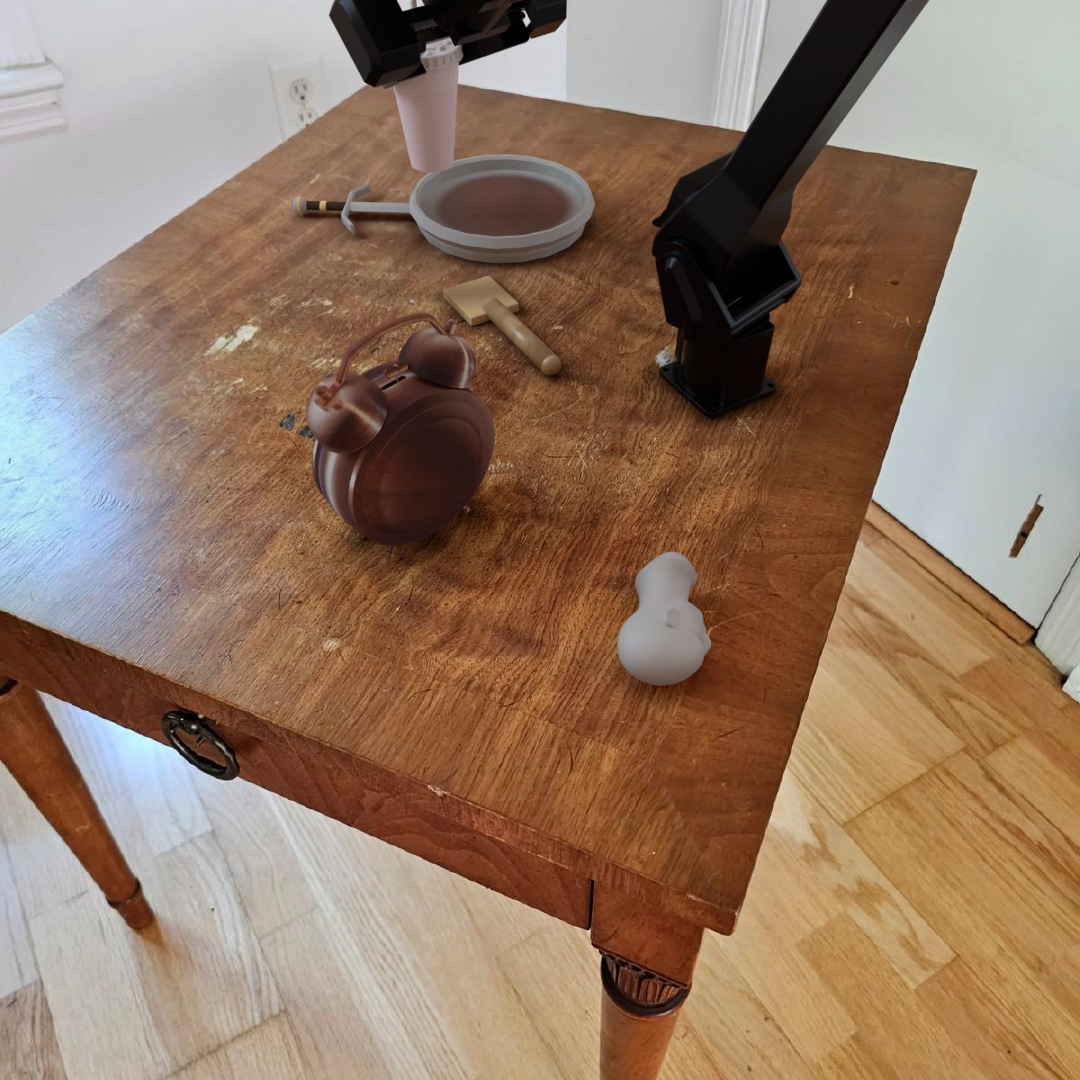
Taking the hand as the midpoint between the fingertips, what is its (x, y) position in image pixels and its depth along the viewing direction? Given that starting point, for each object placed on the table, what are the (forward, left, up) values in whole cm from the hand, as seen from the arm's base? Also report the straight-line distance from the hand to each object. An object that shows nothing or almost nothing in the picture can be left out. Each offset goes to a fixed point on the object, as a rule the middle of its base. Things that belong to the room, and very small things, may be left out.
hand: (415, 72), depth 79 cm
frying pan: (0, -2, -13) cm, 14 cm away
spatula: (-19, +2, -13) cm, 23 cm away
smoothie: (-1, 0, -7) cm, 7 cm away
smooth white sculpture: (-51, +10, -13) cm, 53 cm away
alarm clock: (-35, +18, -14) cm, 42 cm away
